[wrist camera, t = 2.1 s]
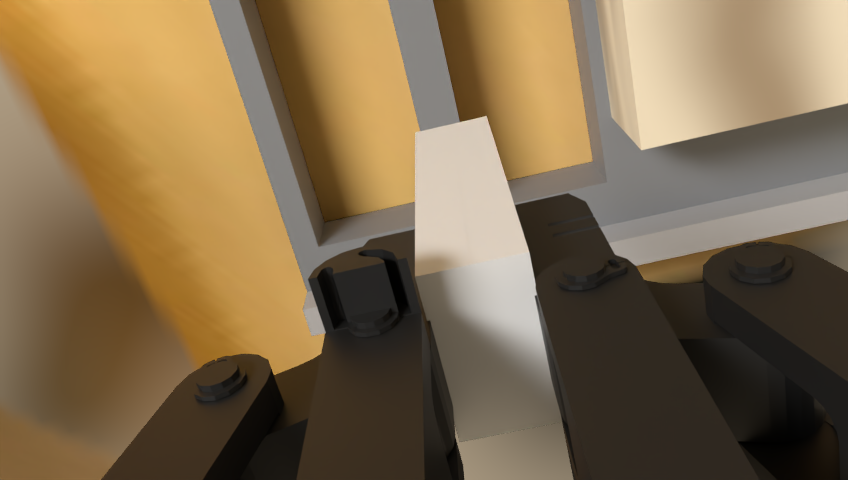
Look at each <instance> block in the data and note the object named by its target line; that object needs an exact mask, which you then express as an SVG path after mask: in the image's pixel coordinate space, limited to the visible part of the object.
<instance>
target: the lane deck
mask: <svg viewBox="0 0 848 480" xmlns="http://www.w3.org/2000/svg"><path fill="white" fill-rule="evenodd" d="M388 1H389V5H390V10H391V14H392V18H393V22H394V26H395V30H396V34H397V38H398V42H399V46H400V50H401V54H402V58H403V62H404V67H405V71H406V75H407V79H408V83H409V87H410V91H411V95H412V99H413V103H414V107H415V111H416V115H417V120H418V124H419V128H420V131H424V130H428V129H433V128H437V127H441V126H446V125H450V124H454V123H459V122H460V120H459V116H458V111H457V107H456V102H455V98H454V93H453V89H452V84H451V80H450V75H449V71H448V66H447V62H446V57H445V53H444V48H443V44H442V39H441V35H440V30H439V26H438V21H437V17H436V12H435V8H434V3H433V0H388ZM568 1H569V8H570V14H571V21H572V27H573V34H574V40H575V47H576V53H577V60H578V66H579V73H580V79H581V86H582V92H583V99H584V106H585V112H586V119H587V125H588V132H589V138H590V145H591V151H592V158H593V162H589V163H584V164H580V165H576V166H571V167H567V168H562V169H558V170H554V171H549V172H545V173H540V174H536V175H532V176H527V177H523V178H518V179H514V180H510V181H507V183H508V186H509V189H510V192H511V195H512V199H513V202H514V205H517V204H521V203H526V202H530V201H535V200H539V199H544V198H548V197H553V196H557V195H562V194H566V193H569V194H571V195H573V196H575V197H577V198H579V199H581V200H584V201H586V203H587V204H588V206H589V208H590V210H591V212H592V213H593V217H595V219H596V221H597V223H598V224H599V227H600V228H601V230H602V232H603V234H604V235H605V237H606V239H607V241H608V243H609V245H610V246H611V248H612V250H613V252H614V254H615V255H617V256H620V257H623V258H626V259H628V260H629V261H630V262H631V263H633V264H634V265H635V266H638V265H642V264H647V263H651V262H656V261H661V260H665V259H670V258H675V257H679V256H684V255H688V254H693V253H698V252H702V251H707V250H711V249H716V248H721V247H725V246H730V245H735V244H739V243H744V242H748V241H753V240H758V239H762V238H767V237H772V236H776V235H781V234H785V233H790V232H795V231H799V230H804V229H809V228H813V227H818V226H822V225H827V224H832V223H836V222H841V221H846V220H848V103H847V104H842V105H838V106H834V107H829V108H825V109H820V110H816V111H812V112H807V113H803V114H799V115H794V116H790V117H785V118H781V119H777V120H772V121H768V122H763V123H759V124H755V125H750V126H746V127H741V128H737V129H733V130H728V131H724V132H719V133H715V134H711V135H706V136H702V137H697V138H693V139H689V140H684V141H680V142H675V143H671V144H667V145H662V146H658V147H653V148H649V149H645V150H641V149H640V148H639V147H638V146H637V145H636V144H635V143H634V142H633V140H632V139H631V138H630V137H629V136H628V135H627V134H626V133H625V132H624V130H623V129H622V128H621V127H620V126H619V125H618V124H617V123H616V122H615V121H614V119H613V118H612V116H611V109H610V102H609V95H608V88H607V81H606V73H605V66H604V59H603V52H602V45H601V38H600V30H599V23H598V16H597V9H596V2H595V0H568ZM209 2H210V5H211V8H212V11H213V14H214V17H215V20H216V23H217V25H218V28H219V31H220V34H221V37H222V40H223V43H224V46H225V49H226V52H227V55H228V58H229V61H230V64H231V67H232V70H233V73H234V76H235V79H236V82H237V85H238V88H239V91H240V94H241V97H242V100H243V103H244V106H245V108H246V111H247V114H248V117H249V120H250V123H251V126H252V129H253V132H254V135H255V138H256V141H257V144H258V147H259V150H260V153H261V156H262V159H263V162H264V165H265V168H266V171H267V174H268V177H269V180H270V183H271V186H272V189H273V192H274V194H275V197H276V200H277V203H278V206H279V209H280V212H281V215H282V218H283V221H284V224H285V227H286V230H287V233H288V236H289V239H290V242H291V245H292V248H293V251H294V254H295V257H296V260H297V263H298V266H299V269H300V272H301V275H302V277H303V280H304V283H305V286H306V289H307V295H306V299H305V303H304V307H303V312H304V315H305V318H306V321H307V324H308V327H309V329H310V332H311V335H312V336H314V335H318V334H323V333H326V332H325V329H324V326H323V323H322V320H321V317H320V314H319V311H318V308H317V305H316V302H315V299H314V296H313V293H312V290H311V287H310V284H309V281H308V278H309V277H310V275H311V273H312V272H313V270H314V269H315V268H317V267H318V266H319V265H321V264H322V263H323V262H325V261H326V260H328V259H330V258H332V257H334V256H336V255H338V254H340V253H343V252H346V251H349V250H352V249H356V248H359V247H363V246H364V245H365V244H366V242H367V241H368V240H369V239H373V238H377V237H382V236H386V235H391V234H395V233H400V232H405V231H409V230H414V229H415V202H413V203H408V204H404V205H400V206H395V207H391V208H387V209H382V210H378V211H373V212H369V213H365V214H360V215H356V216H351V217H347V218H343V219H338V220H334V221H329V222H324V219H323V216H322V213H321V210H320V206H319V203H318V200H317V197H316V194H315V190H314V187H313V184H312V181H311V178H310V175H309V171H308V168H307V165H306V162H305V159H304V155H303V152H302V149H301V146H300V143H299V139H298V136H297V133H296V130H295V127H294V124H293V120H292V117H291V114H290V111H289V108H288V104H287V101H286V98H285V95H284V92H283V89H282V85H281V82H280V79H279V76H278V73H277V69H276V66H275V63H274V60H273V57H272V53H271V50H270V47H269V44H268V41H267V38H266V34H265V31H264V28H263V25H262V22H261V18H260V15H259V12H258V9H257V6H256V2H255V0H209Z"/></svg>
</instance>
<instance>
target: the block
mask: <svg viewBox="0 0 848 480" xmlns="http://www.w3.org/2000/svg"><path fill="white" fill-rule="evenodd" d="M595 2H596V9H597V16H598V23H599V30H600V38H601V45H602V52H603V59H604V66H605V73H606V81H607V88H608V95H609V102H610V109H611V116H612V118H613V119H614V121H615V122H616V123H617V124H618V125H619V126H620V127H621V128H622V129H623V130H624V132H625V133H626V134H627V135H628V136H629V137H630V138H631V139H632V140H633V142H634V143H635V144H636V145H637V146H638V147H639V148H640V149H641V150H645V149H649V148H653V147H658V146H662V145H667V144H671V143H675V142H680V141H684V140H689V139H693V138H697V137H702V136H706V135H711V134H715V133H719V132H724V131H728V130H733V129H737V128H741V127H746V126H750V125H755V124H759V123H763V122H768V121H772V120H777V119H781V118H785V117H790V116H794V115H799V114H803V113H807V112H812V111H816V110H820V109H825V108H829V107H834V106H838V105H842V104H847V103H848V0H595Z"/></svg>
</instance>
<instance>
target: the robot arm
mask: <svg viewBox="0 0 848 480" xmlns="http://www.w3.org/2000/svg"><path fill="white" fill-rule="evenodd" d="M308 281H309V284H310V287H311V290H312V293H313V296H314V299H315V302H316V305H317V308H318V311H319V314H320V317H321V320H322V323H323V326H324V329H325V332H326V333H325V338H324V343H323V348H322V353H321V354H320V355H318V356H317V357H315V358H314V359H312V360H310V361H308V362H305V363H303V364H301V365H299V366H297V367H294V368H292V369H289V370H287V371H284V372H281V373H279V374H276V375H273V372H272V369H271V367H270V364H269V361H268V360H267V359H265V358H263V357H261V356H259V355H254V354H239V355H234V356H225V357H221V358H218V359H217V360H216V361H215V360H213V361H210V362H208V363H206V364H204V365H203V366H202V367H201V368H200V369H198V370H196V371H195V372H193V373H191V374H190V375H188V376H187V377H186V378H185V379H184V380H183V381H182V382H181V383H180V384H179V385H178V386H177V387H176V388H175V389H174V390H173V392H172V393H171V394H170V395H169V397H168V398H167V399H166V400H165V402H164V403H163V404H162V405H161V407H160V408H159V409H158V410H157V411H156V413H155V414H154V415H153V416H152V418H151V419H150V420H149V421H148V423H147V424H146V425H145V426H144V428H143V429H142V430H141V431H140V433H139V434H138V435H137V436H136V438H135V439H134V440H133V441H132V442H131V444H130V445H129V446H128V447H127V448H126V450H125V451H124V452H123V453H122V455H121V456H120V457H119V458H118V460H117V461H116V462H115V463H114V465H113V466H112V467H111V468H110V469H109V471H108V472H107V473H106V474H105V476H104V477H103V478H102V479H101V480H464V471H463V464H462V460H461V456H460V453H459V449H458V445H457V442H456V438H455V427H456V431H457V434H458V438H459V442H463V441H468V440H473V439H478V438H483V437H489V436H494V435H499V434H504V433H509V432H514V431H519V430H525V429H530V428H535V427H540V426H545V425H550V424H555V423H560V422H562V423H563V428H564V433H565V438H566V443H567V448H568V453H569V458H570V464H571V469H572V473H573V478H574V480H848V272H847V271H844V270H843V269H841V268H839V267H837V266H835V265H833V264H831V263H829V262H828V261H826V260H824V259H822V258H820V257H818V256H816V255H814V254H812V253H811V252H809V251H806V250H803V249H800V248H797V247H794V246H791V245H783V244H775V243H772V242H759V243H758V244H756V242H753V243H746V244H743V245H741V246H737V247H733V248H728V249H726V250H724V251H722V252H720V253H718V254H716V255H714V256H712V257H711V258H710V259H709V260H708V261H707V262H706V263H705V264H704V265H703V283H684V284H670V283H657V282H651V281H646V280H643V278H642V276H641V274H640V273H639V271H638V269H637V267H636V266H635V265H634V264H633V263H631V262H630V261H629V260H628V259H626V258H623V257H620V256H617V255H615V254H614V252H613V250H612V248H611V246H610V245H609V243H608V241H607V239H606V237H605V235H604V234H603V232H602V230H601V228H600V227H599V224H598V223H597V221H596V219H595V217H593V213H592V212H591V210H590V208H589V206H588V204H587V203H586V201H584V200H581V199H579V198H577V197H575V196H573V195H571V194H569V193H566V194H562V195H557V196H553V197H548V198H544V199H539V200H535V201H530V202H526V203H521V204H517V205H514V202H513V199H512V195H511V192H510V189H509V186H508V183H507V180H506V176H505V173H504V170H503V167H502V164H501V160H500V157H499V154H498V151H497V148H496V145H495V141H494V138H493V135H492V132H491V129H490V125H489V122H488V119H487V116H484V117H480V118H476V119H472V120H467V121H463V122H459V123H454V124H450V125H446V126H441V127H437V128H433V129H428V130H424V131H420V132H415V229H414V230H409V231H405V232H400V233H395V234H391V235H386V236H382V237H377V238H373V239H369V240H368V241H367V242H366V244H365V245H364V246H363V247H359V248H356V249H352V250H349V251H346V252H343V253H340V254H338V255H336V256H334V257H332V258H330V259H328V260H326V261H325V262H323V263H322V264H321V265H319V266H318V267H317V268H315V269H314V270H313V272H312V273H311V275H310V277H309V278H308ZM454 423H455V426H454Z"/></svg>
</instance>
